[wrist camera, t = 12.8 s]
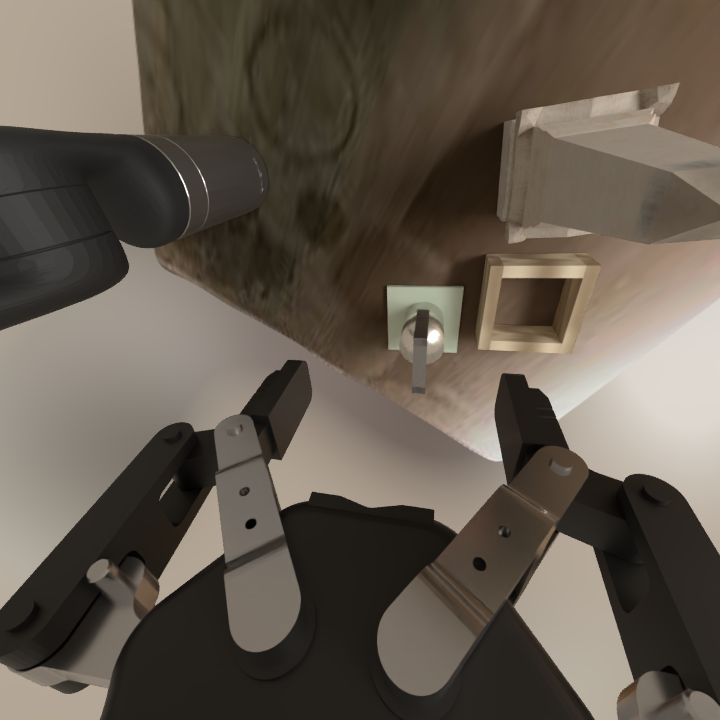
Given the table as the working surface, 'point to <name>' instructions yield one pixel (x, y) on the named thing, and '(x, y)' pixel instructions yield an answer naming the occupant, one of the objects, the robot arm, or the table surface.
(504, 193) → the miniature monument
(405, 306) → the mat
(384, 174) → the table surface
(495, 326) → the holder
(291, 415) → the robot arm
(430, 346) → the pail
